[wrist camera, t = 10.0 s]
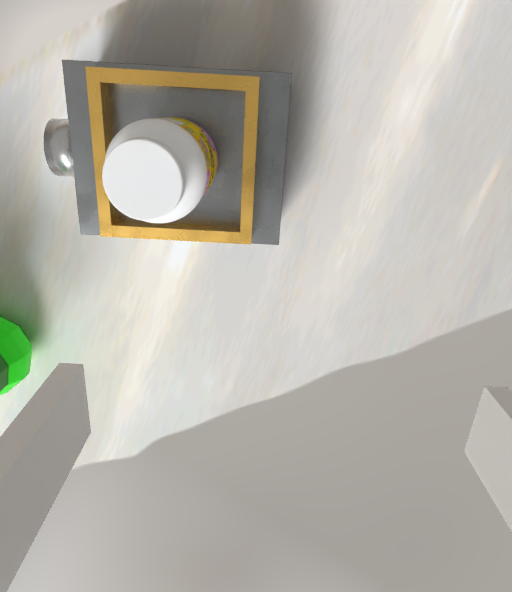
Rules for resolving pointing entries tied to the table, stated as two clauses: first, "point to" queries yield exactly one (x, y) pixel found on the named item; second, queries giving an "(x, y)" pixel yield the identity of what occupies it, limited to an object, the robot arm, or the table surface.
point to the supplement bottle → (159, 168)
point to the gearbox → (188, 105)
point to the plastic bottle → (13, 355)
